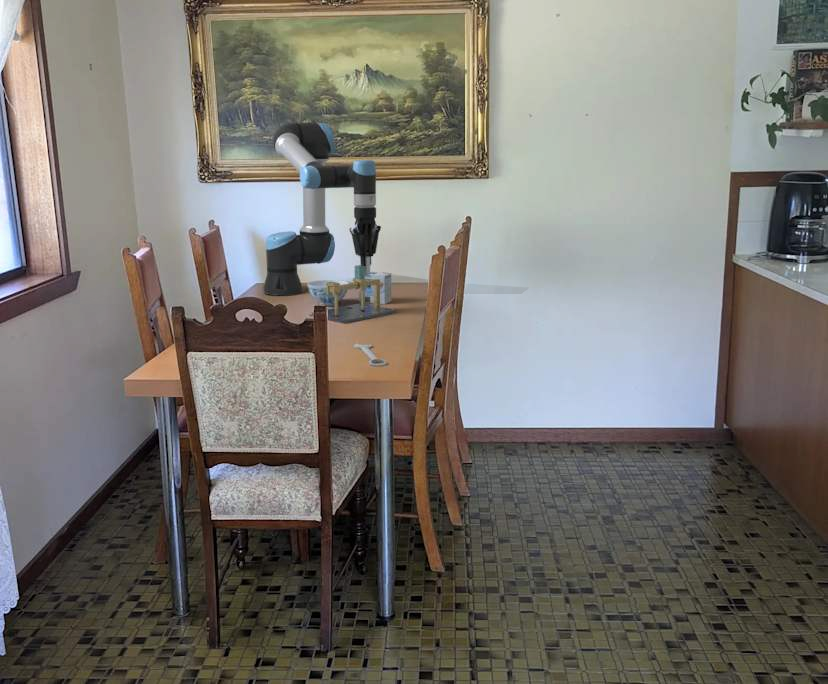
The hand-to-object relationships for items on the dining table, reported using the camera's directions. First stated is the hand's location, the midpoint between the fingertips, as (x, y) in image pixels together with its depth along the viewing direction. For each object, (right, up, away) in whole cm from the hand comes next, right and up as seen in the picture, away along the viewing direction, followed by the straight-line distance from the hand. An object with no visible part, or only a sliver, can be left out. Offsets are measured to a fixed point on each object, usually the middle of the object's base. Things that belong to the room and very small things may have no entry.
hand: (366, 275), depth 297 cm
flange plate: (-4, -14, -1) cm, 14 cm away
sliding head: (-2, -12, +1) cm, 12 cm away
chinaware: (-15, -10, +16) cm, 24 cm away
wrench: (+4, -27, -56) cm, 62 cm away
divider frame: (-4, -12, -1) cm, 13 cm away
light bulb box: (+2, -8, +21) cm, 23 cm away
